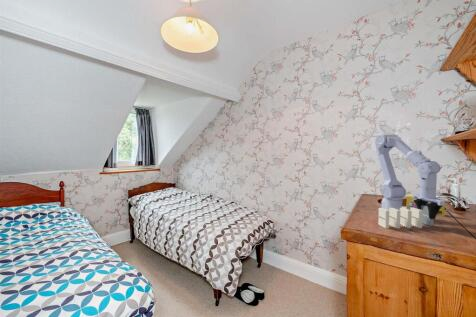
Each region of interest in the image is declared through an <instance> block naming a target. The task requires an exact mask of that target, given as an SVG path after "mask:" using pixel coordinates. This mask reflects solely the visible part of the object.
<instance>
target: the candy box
mask: <svg viewBox="0 0 476 317" xmlns="http://www.w3.org/2000/svg"><path fill="white" fill-rule="evenodd" d="M416 199H417V198H413V195H406V206H405V207H406V209H408V210H410V208H417V206H416V204H415V202H414V200H416ZM428 203H431V202H428ZM417 209H418V208H417ZM445 210H446V203H445V204H444V205H443V206H442V207H441V208H440V210H439V211H438V213H437V215H436V216H439V217H445V216H446V215H445Z"/></svg>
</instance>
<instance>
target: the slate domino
mask: <svg viewBox="0 0 476 317" xmlns="http://www.w3.org/2000/svg"><path fill="white" fill-rule="evenodd" d="M421 210H423V219H422V224H424V225H427V226H430V227H431V226H434V224H435V222H434V220H435V219H429V211H428V207H427V206H425V205H421Z"/></svg>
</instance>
